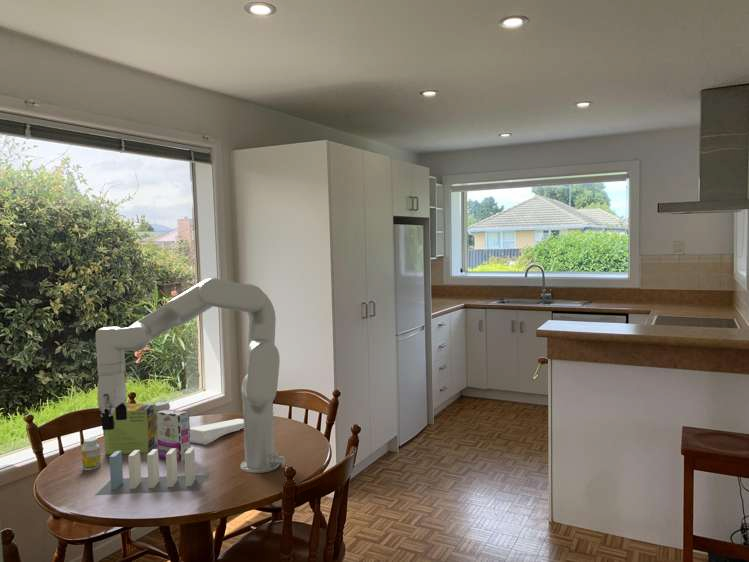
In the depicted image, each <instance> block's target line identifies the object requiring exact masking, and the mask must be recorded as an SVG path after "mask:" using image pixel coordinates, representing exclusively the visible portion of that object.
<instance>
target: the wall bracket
mask: <svg viewBox="0 0 749 562" xmlns="http://www.w3.org/2000/svg"><path fill="white" fill-rule="evenodd" d="M242 428H244V418H234V419H230V420H225V421H224V420H223V421H219V422H214V423H213V422H212V423H208V424H204V425H198V426H193V427H190V443H193V444H198V445H204V446H206V445H208V444H211V443H212V442H214V441H215V440H217V439H219V438H221V437H222V436H224V435H227V434H230V433H233V432H237V431H241V430H240V429H242ZM242 430H243V429H242ZM210 442H211V443H210Z"/></svg>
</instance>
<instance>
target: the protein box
mask: <svg viewBox="0 0 749 562" xmlns="http://www.w3.org/2000/svg"><path fill="white" fill-rule="evenodd" d="M125 407H126V409H127V419H126V420H116V413H115V408H113V413H112V416H113V417H114V429H113V430H103V433H104V435H103V437H104V454H105V455H112V454H113V453H114V452H115V451H122V455H124V454H131V453H132V452H133V451H134V450H140V454H145V453H147V454H149V453H150V452H151V451H152V450H153V448H154V447H155V446H156V445H158V440H157V428H156V407H155V403H152V402H145V403H142V402H141V403H127V405H126V406H125ZM109 410H110V409H108V411H109ZM143 452H144V453H143Z"/></svg>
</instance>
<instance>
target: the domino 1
mask: <svg viewBox="0 0 749 562" xmlns="http://www.w3.org/2000/svg"><path fill="white" fill-rule="evenodd" d="M127 459H128V478H129V481H130V489H135V488H136V487H137V486H138V485H139V484H140V483H141V478H142V469H141V467H142V466H141V465H142V464H141V453H140V450H134V451H133V452H132V453H129V455H128V457H127Z"/></svg>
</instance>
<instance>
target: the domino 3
mask: <svg viewBox="0 0 749 562" xmlns="http://www.w3.org/2000/svg"><path fill="white" fill-rule="evenodd" d="M165 465H166V467H165V468H166V469H165V470H166V476H167V487H173V486H174V484H175V483H176V482H177V480H178V478H177V476H178V461H177V454H176V448H171V449H170V450H169V451H168V452H167V453H166V460H165Z"/></svg>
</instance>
